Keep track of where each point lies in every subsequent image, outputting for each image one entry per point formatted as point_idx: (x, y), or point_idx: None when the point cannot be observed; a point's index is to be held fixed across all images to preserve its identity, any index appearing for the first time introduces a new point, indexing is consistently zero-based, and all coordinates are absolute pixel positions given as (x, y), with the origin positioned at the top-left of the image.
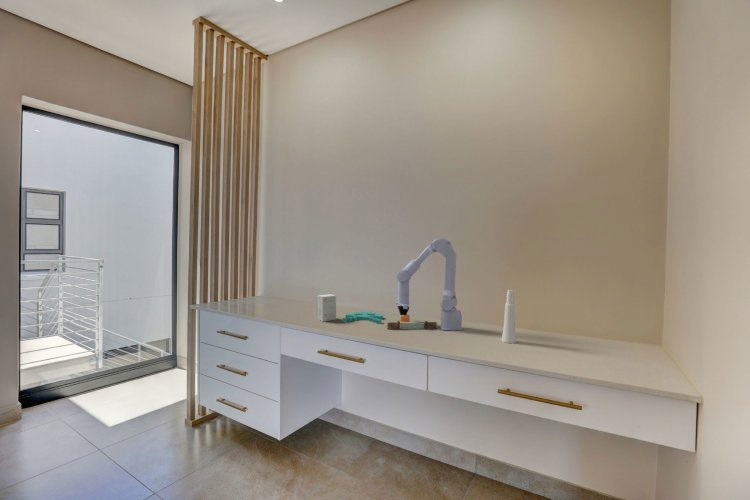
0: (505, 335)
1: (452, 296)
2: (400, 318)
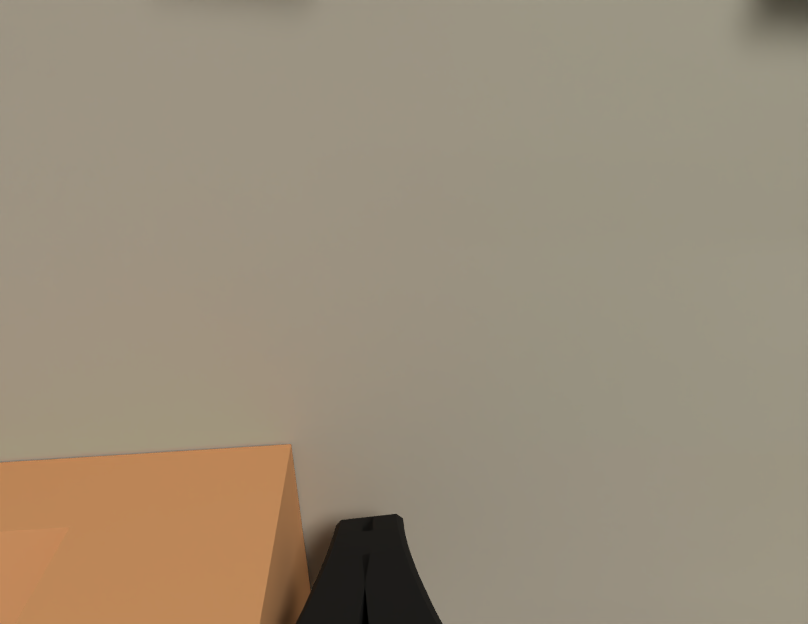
0: None
1: None
2: (146, 569)
